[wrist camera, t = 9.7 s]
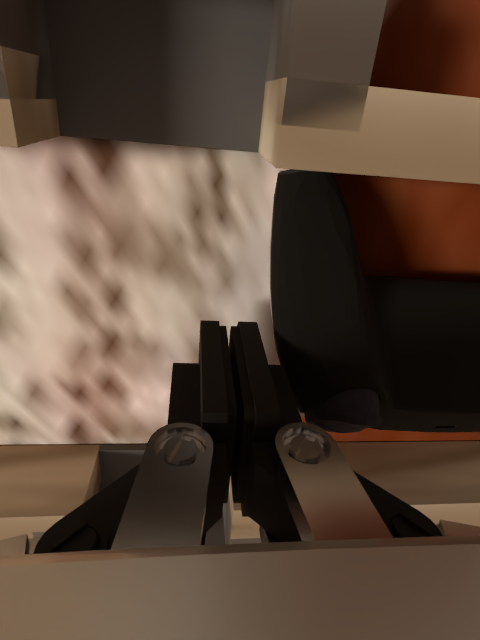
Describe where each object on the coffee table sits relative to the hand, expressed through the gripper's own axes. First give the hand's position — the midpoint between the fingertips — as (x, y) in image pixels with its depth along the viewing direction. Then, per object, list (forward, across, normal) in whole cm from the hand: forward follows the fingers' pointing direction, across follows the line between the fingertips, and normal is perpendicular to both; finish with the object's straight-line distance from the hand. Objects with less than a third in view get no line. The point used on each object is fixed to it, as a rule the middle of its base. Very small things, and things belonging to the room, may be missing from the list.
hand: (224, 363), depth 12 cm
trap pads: (+2, +2, 0) cm, 3 cm away
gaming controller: (+2, -6, -2) cm, 7 cm away
